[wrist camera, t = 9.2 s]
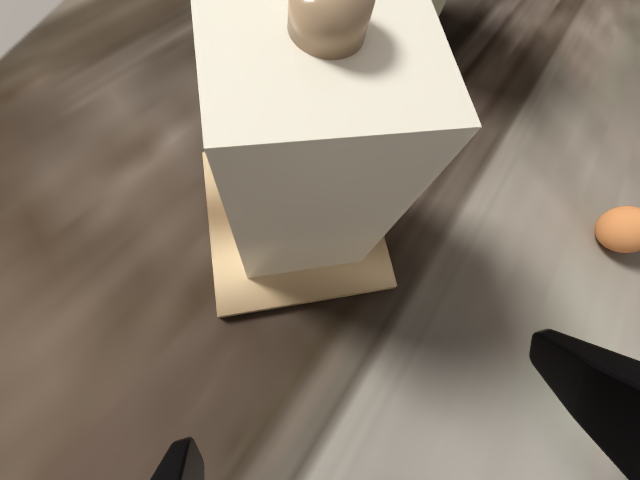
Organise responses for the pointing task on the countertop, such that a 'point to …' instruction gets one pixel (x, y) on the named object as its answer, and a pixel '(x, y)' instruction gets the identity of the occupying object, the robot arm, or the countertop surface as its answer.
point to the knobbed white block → (324, 121)
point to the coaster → (283, 288)
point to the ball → (619, 229)
